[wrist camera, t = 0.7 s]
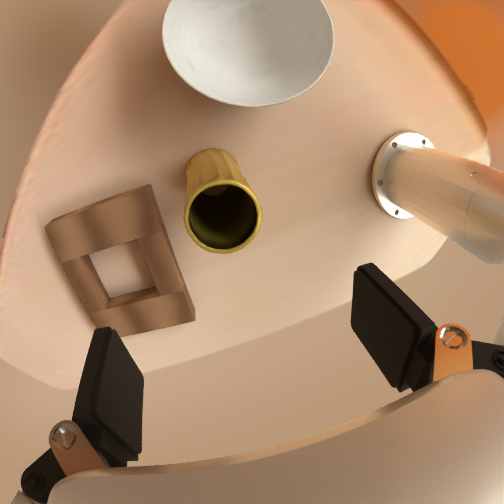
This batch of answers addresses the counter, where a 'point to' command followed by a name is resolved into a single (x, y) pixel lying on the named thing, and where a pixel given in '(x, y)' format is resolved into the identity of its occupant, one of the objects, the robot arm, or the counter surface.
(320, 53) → the chinaware
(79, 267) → the vase stand
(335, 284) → the counter surface
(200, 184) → the vase
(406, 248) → the counter surface
